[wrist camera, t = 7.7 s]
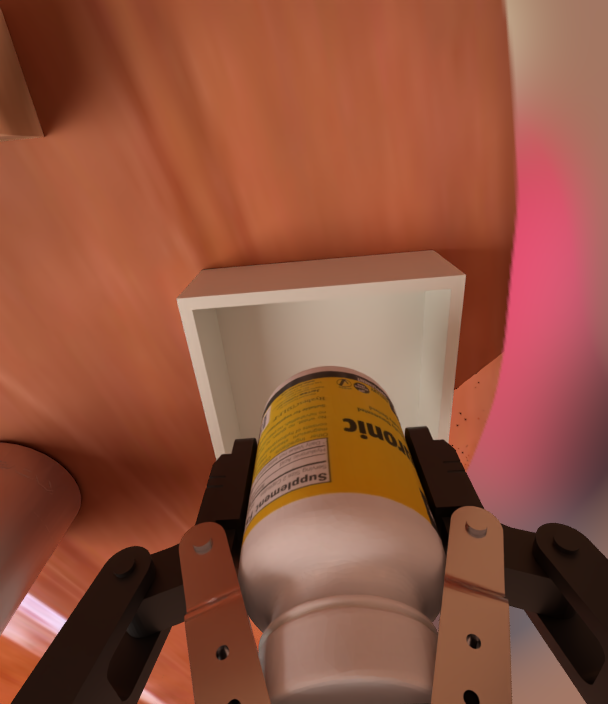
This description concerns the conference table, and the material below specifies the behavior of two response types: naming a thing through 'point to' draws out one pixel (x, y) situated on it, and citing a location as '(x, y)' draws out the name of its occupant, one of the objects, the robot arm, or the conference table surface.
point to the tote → (325, 334)
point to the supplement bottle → (340, 548)
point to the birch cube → (14, 94)
